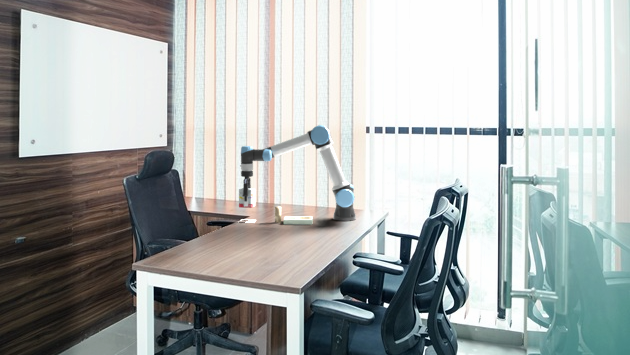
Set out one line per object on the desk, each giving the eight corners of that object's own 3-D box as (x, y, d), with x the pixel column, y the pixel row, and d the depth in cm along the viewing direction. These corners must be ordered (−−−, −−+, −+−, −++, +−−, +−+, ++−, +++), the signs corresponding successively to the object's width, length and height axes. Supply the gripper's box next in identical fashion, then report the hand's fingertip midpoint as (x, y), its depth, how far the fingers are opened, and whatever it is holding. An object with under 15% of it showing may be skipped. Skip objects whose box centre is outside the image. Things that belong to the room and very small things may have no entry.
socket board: (312, 221, 315) (312, 216, 315) (312, 224, 303) (312, 219, 303) (285, 220, 316) (285, 216, 315) (283, 224, 304) (283, 219, 303)
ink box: (251, 208, 307) (251, 189, 306) (238, 207, 309) (238, 189, 307) (255, 206, 315) (255, 187, 314) (243, 205, 317) (242, 187, 316)
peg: (281, 222, 312) (281, 206, 311) (280, 223, 308) (280, 207, 307) (275, 221, 312) (275, 206, 311) (274, 223, 308) (274, 207, 307)
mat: (256, 220, 318) (256, 219, 318) (254, 223, 308) (254, 222, 308) (241, 220, 318) (241, 219, 318) (238, 222, 308) (238, 222, 308)
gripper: (243, 168, 321) (244, 202, 323) (238, 171, 299) (238, 207, 301) (255, 169, 321) (255, 202, 323) (250, 171, 299) (250, 207, 301)
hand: (247, 205), depth 312 cm, fingers closed on ink box, 9 cm apart
